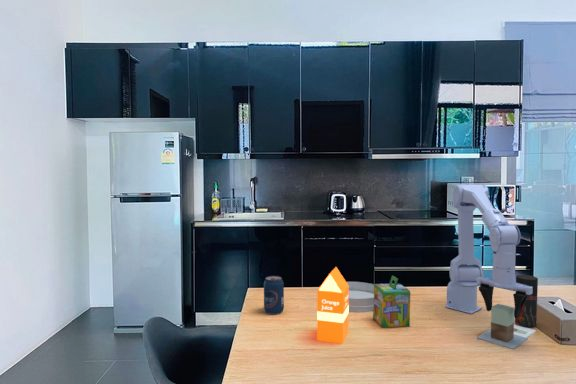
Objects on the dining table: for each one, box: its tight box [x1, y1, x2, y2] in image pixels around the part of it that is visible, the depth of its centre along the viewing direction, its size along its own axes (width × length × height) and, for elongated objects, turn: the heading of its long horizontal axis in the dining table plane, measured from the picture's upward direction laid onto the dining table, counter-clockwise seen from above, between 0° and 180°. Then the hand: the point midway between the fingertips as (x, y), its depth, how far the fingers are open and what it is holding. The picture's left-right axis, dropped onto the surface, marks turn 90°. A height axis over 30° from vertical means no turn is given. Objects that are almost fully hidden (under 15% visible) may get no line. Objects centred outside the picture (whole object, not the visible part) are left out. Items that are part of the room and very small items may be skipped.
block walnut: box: [490, 321, 515, 342], centre depth 118 cm, size 4×4×4 cm
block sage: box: [490, 303, 515, 327], centre depth 118 cm, size 4×4×4 cm
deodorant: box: [514, 274, 539, 329], centre depth 129 cm, size 6×6×15 cm
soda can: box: [263, 275, 285, 316], centre depth 142 cm, size 7×7×12 cm
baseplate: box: [477, 328, 528, 350], centre depth 118 cm, size 10×10×1 cm
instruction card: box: [514, 324, 537, 338], centre depth 123 cm, size 7×9×1 cm
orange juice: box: [316, 266, 350, 344], centre depth 120 cm, size 8×9×20 cm
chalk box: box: [372, 275, 411, 329], centre depth 131 cm, size 9×9×15 cm
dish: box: [346, 281, 374, 313], centre depth 152 cm, size 22×22×5 cm
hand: (502, 313), depth 118 cm, fingers open, 7 cm apart
